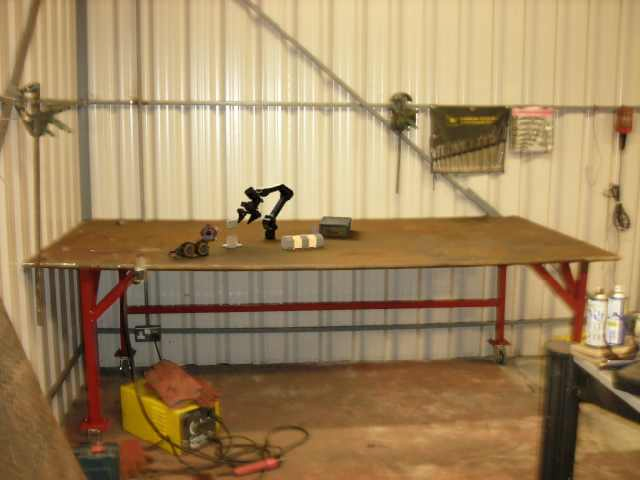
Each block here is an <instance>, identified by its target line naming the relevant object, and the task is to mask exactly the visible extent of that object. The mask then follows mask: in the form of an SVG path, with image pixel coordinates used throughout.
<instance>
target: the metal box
mask: <svg viewBox="0 0 640 480" xmlns="http://www.w3.org/2000/svg"><path fill="white" fill-rule="evenodd" d="M351 222H352V217H351V216H349V217H348V216H347V217H345V216H344V217H343V216H322V217H321V219H320V221H319V222H318V234H321V235H322V236H323V238H324V239H325V238H329V239H335V238H336V239H348V238H349V235H350V233H351V226H352V225H351Z"/></svg>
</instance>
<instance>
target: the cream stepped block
mask: <svg viewBox="0 0 640 480" xmlns="http://www.w3.org/2000/svg"><path fill="white" fill-rule="evenodd" d="M238 240H239V239H238V235H235V234H234V235H229V236H226V243H225V244H222V245H221V247H222V248H228V249H234V248H238V247H243V244H242V243H238Z"/></svg>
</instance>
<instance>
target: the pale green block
mask: <svg viewBox="0 0 640 480" xmlns="http://www.w3.org/2000/svg"><path fill="white" fill-rule="evenodd" d="M237 228H238V218H237V219H235V218H234V219H233V218H232V219H227V220H226V229H227V230H233V229H237Z"/></svg>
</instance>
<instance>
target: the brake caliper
mask: <svg viewBox="0 0 640 480" xmlns="http://www.w3.org/2000/svg"><path fill="white" fill-rule="evenodd" d="M203 225H204V226H203V227H202V228H201V230H199V235H200V237H201V238H202V240H204V241H207V242H208V241H211V242H212V241H217V240H218V239H217V235H218V231H217V229H216V228H215V227H213V225H211V223H209V222H208V223H206V224H203Z"/></svg>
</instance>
